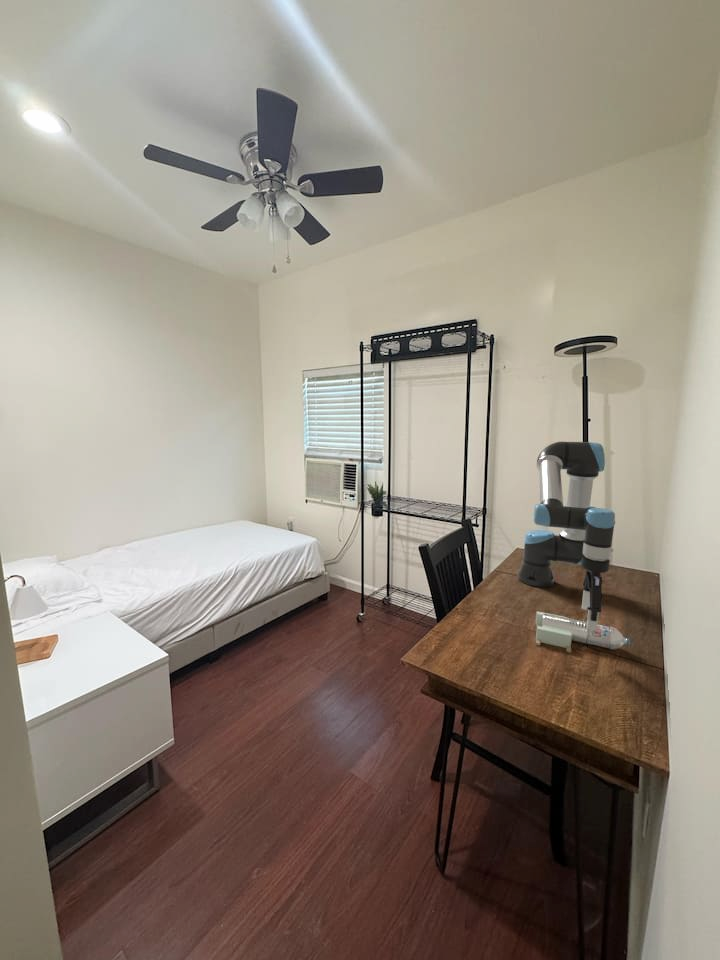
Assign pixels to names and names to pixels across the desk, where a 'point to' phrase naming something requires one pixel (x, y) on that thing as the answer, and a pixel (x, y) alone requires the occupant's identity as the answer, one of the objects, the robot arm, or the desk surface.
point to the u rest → (552, 634)
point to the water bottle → (586, 632)
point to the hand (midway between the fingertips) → (588, 618)
